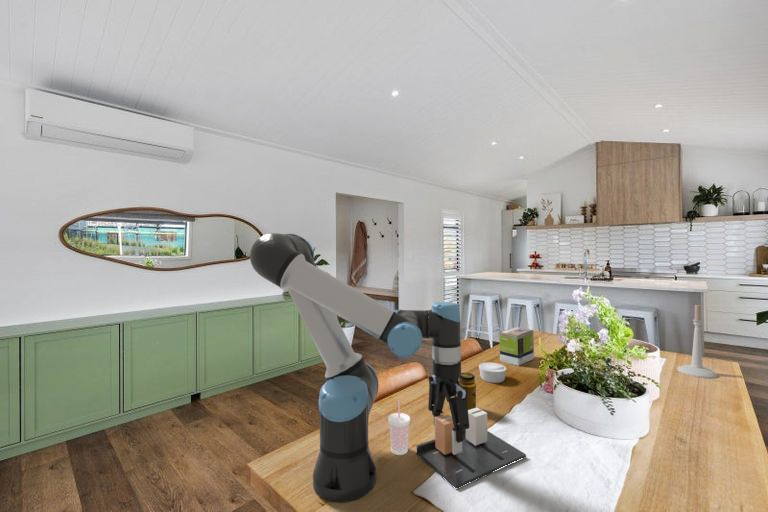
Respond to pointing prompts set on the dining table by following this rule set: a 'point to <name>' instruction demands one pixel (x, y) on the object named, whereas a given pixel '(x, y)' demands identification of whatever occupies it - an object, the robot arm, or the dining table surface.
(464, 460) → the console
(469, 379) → the condiment
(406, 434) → the beverage cup
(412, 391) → the dining table surface
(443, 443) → the fader terracotta
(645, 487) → the dining table surface
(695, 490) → the dining table surface
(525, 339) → the tea box
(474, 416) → the fader ivory
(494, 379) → the ramekin
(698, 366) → the candlestick
